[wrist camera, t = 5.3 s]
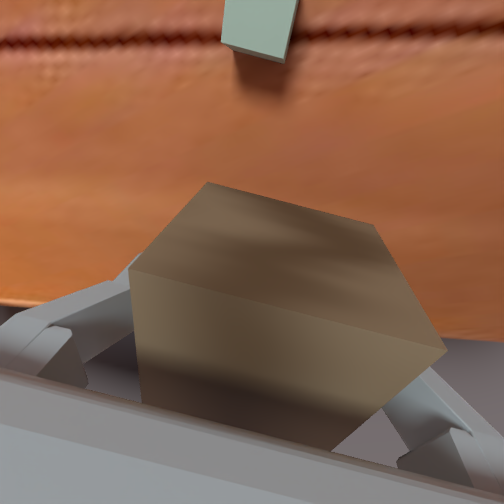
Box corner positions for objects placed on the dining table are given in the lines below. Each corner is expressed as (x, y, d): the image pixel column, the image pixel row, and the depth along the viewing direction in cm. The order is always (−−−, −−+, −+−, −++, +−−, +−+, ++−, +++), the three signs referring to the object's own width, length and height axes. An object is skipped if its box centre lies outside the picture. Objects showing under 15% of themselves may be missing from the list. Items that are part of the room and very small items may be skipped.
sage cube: (301, -11, 18) (304, -36, 15) (284, 64, 21) (283, 58, 17) (243, -26, 18) (231, -56, 14) (233, 50, 21) (220, 42, 17)
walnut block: (373, 224, 9) (447, 350, 4) (313, 330, 12) (323, 456, 8) (207, 181, 9) (127, 268, 4) (194, 299, 12) (142, 410, 8)
